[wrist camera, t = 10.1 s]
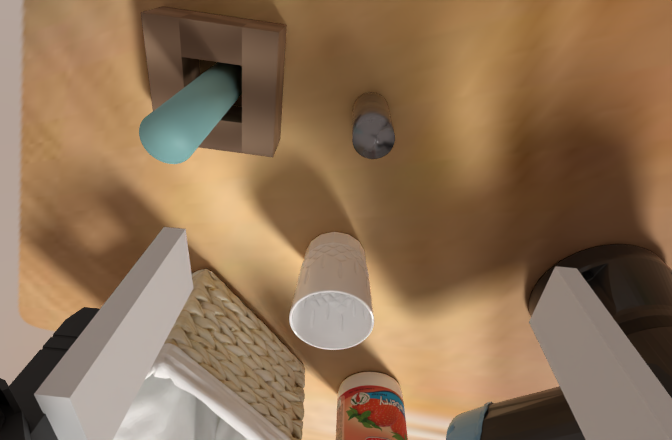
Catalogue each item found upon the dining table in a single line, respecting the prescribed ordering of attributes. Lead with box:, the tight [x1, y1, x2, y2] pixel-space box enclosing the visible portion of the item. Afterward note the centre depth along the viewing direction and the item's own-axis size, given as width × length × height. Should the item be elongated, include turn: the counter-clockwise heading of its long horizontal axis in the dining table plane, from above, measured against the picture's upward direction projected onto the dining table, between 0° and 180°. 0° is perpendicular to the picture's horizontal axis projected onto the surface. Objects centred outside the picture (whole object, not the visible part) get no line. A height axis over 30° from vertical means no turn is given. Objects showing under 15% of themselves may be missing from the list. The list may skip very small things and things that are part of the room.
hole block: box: [141, 7, 287, 157], centre depth 34 cm, size 10×10×4 cm
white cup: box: [289, 232, 374, 350], centre depth 41 cm, size 8×8×10 cm
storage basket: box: [113, 269, 305, 440], centre depth 48 cm, size 24×16×15 cm
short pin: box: [353, 92, 395, 159], centre depth 33 cm, size 3×3×7 cm
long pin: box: [139, 62, 242, 164], centre depth 29 cm, size 3×3×14 cm
